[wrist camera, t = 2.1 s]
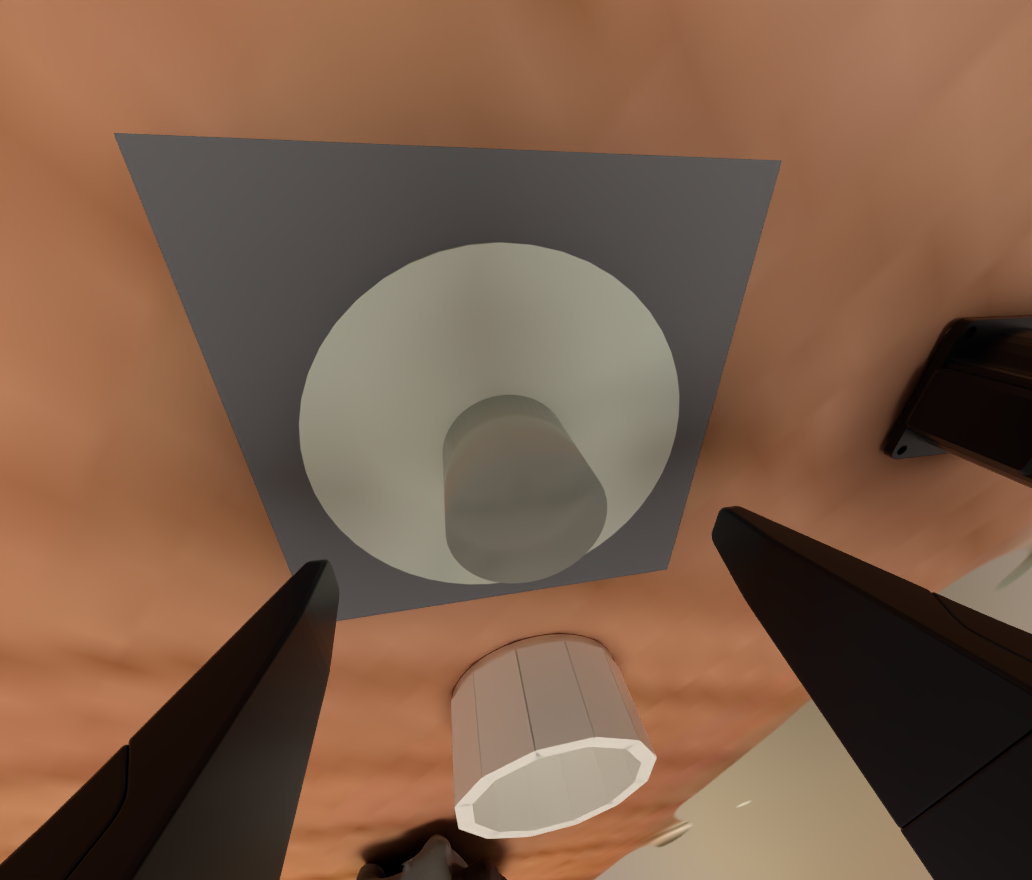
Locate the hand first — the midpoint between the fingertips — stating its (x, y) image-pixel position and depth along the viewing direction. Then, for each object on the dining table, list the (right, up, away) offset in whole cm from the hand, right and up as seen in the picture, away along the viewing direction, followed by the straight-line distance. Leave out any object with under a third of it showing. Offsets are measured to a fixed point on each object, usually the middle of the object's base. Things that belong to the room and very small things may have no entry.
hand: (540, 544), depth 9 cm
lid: (-1, +2, +4) cm, 5 cm away
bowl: (+1, -13, +14) cm, 19 cm away
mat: (-1, +3, +5) cm, 6 cm away
